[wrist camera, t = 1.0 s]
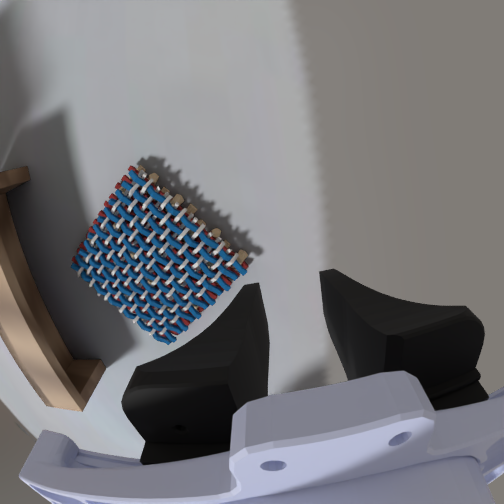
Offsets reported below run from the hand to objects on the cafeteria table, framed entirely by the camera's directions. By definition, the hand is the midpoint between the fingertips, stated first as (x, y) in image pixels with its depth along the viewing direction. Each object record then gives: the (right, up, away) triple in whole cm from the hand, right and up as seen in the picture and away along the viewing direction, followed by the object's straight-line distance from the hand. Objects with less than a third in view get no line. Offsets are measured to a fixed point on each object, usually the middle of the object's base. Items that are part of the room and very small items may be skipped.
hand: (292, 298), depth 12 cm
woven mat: (-9, +2, +9) cm, 13 cm away
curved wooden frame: (-20, -1, +10) cm, 23 cm away
